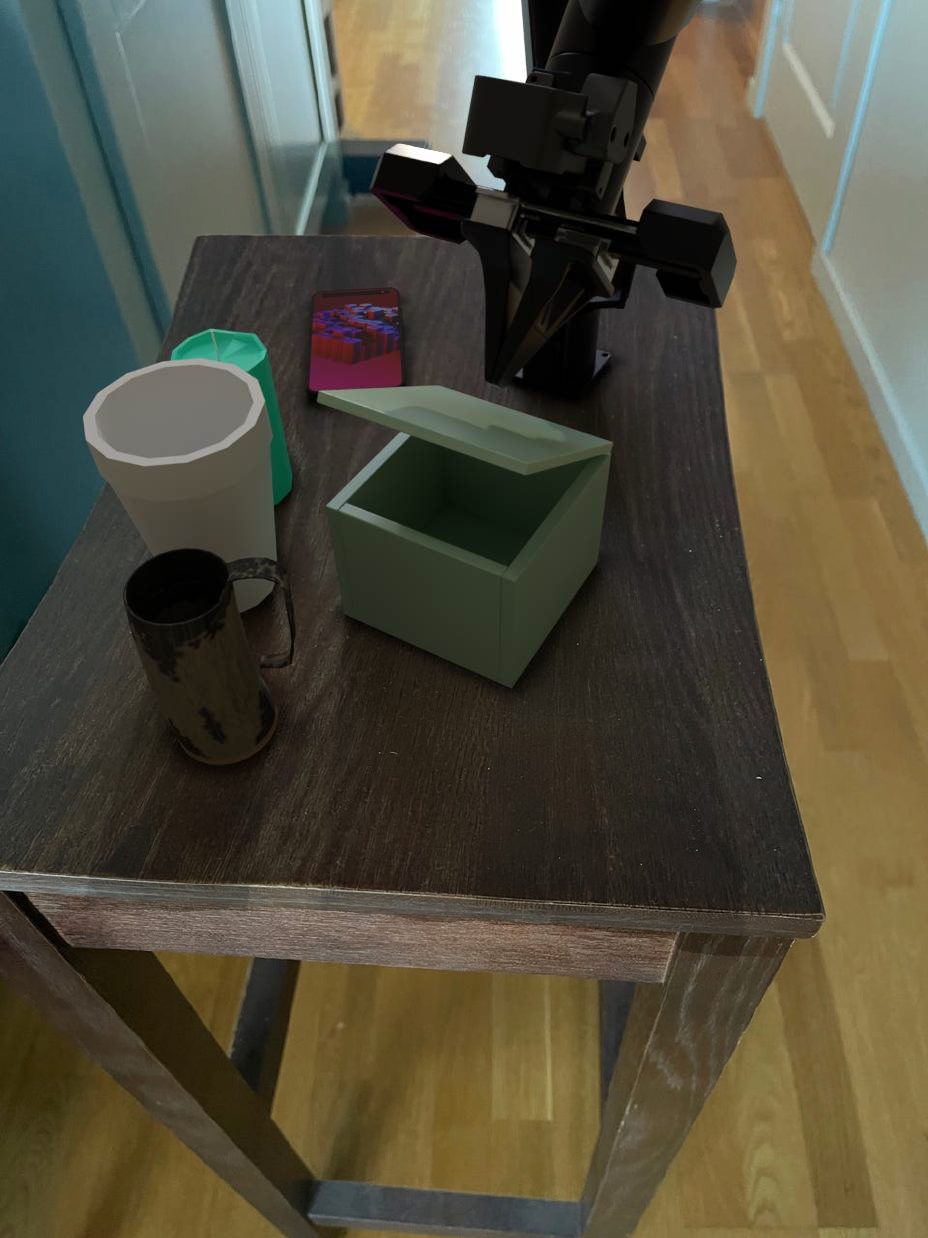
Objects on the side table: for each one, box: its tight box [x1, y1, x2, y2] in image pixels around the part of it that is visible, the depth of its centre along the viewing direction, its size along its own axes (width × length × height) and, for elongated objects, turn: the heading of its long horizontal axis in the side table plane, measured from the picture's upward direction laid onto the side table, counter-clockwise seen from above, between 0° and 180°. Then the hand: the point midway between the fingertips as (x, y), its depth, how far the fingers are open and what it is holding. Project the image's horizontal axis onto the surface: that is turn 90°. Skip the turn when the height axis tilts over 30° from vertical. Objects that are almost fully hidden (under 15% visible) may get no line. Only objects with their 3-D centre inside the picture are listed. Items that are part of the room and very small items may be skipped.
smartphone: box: [305, 286, 406, 401], centre depth 75 cm, size 8×1×15 cm
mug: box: [122, 548, 297, 766], centre depth 46 cm, size 8×6×12 cm
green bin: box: [325, 431, 612, 689], centre depth 54 cm, size 12×12×9 cm
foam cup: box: [82, 358, 278, 614], centre depth 53 cm, size 10×9×13 cm
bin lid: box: [316, 384, 614, 475], centre depth 48 cm, size 12×12×1 cm
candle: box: [169, 328, 293, 506], centre depth 60 cm, size 6×6×12 cm
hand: (493, 385), depth 48 cm, fingers closed
